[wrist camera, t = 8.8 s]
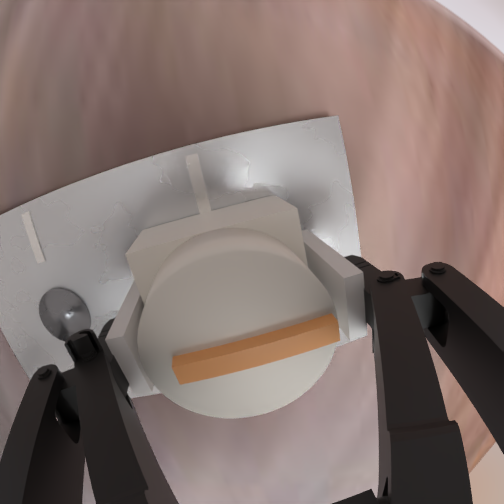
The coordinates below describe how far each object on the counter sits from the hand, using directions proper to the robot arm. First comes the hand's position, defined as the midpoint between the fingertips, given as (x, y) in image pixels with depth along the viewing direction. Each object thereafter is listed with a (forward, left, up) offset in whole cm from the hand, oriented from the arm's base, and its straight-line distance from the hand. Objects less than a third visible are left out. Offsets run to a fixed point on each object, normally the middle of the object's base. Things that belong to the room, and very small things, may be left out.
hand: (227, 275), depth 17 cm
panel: (-4, 0, -2) cm, 5 cm away
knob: (0, 0, 0) cm, 0 cm away
